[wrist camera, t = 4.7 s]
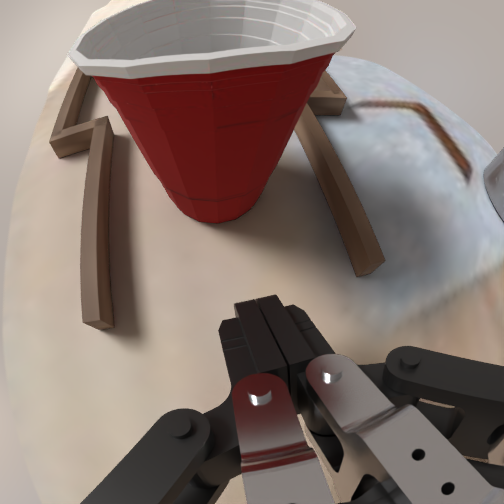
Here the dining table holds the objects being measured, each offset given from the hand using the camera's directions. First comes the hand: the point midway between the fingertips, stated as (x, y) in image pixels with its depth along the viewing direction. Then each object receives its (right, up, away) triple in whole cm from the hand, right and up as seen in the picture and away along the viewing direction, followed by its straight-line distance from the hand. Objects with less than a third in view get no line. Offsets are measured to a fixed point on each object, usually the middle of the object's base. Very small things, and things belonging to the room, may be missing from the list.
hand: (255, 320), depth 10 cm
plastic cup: (-3, +7, +8) cm, 11 cm away
